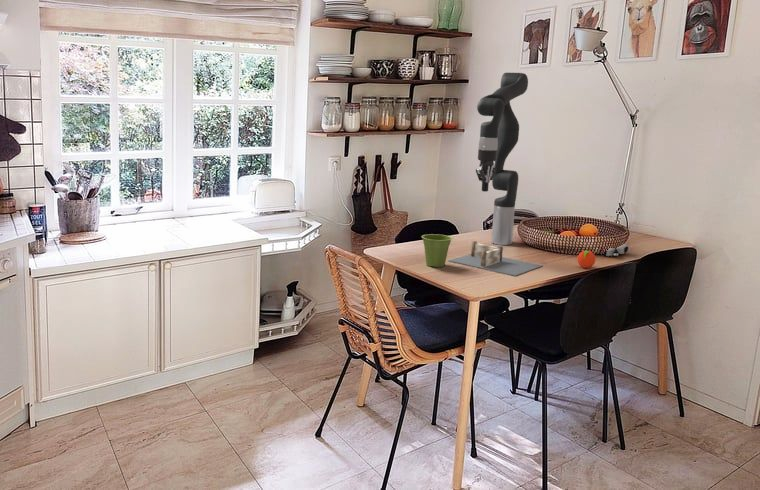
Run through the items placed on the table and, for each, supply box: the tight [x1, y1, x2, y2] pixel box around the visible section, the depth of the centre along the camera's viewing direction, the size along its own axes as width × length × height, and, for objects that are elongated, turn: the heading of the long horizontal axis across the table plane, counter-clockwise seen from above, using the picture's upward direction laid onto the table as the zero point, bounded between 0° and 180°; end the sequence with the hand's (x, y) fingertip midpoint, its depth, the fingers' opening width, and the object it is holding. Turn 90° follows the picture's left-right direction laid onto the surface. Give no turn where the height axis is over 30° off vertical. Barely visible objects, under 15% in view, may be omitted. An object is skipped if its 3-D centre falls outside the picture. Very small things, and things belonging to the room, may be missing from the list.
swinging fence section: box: [481, 245, 504, 266], centre depth 263 cm, size 14×2×6 cm, turn 140°
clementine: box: [576, 249, 597, 269], centre depth 264 cm, size 8×7×7 cm
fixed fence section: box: [470, 240, 498, 258], centre depth 272 cm, size 12×2×6 cm, turn 50°
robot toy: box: [603, 243, 633, 257], centre depth 290 cm, size 12×4×15 cm
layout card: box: [448, 253, 543, 277], centre depth 266 cm, size 22×30×1 cm
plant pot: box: [421, 233, 453, 268], centre depth 259 cm, size 12×12×11 cm
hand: (484, 191), depth 274 cm, fingers closed
